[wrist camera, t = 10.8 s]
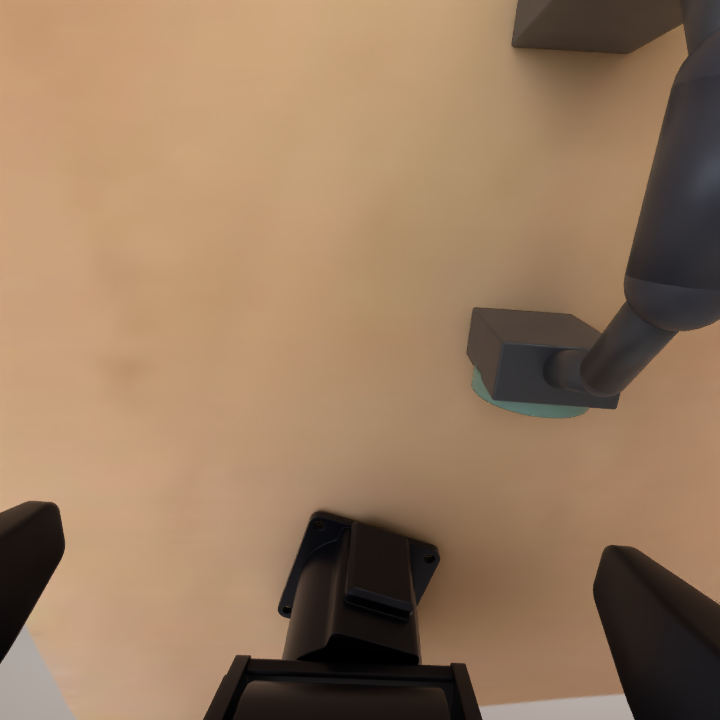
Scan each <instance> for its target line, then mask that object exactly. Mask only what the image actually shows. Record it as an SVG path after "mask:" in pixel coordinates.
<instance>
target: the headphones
mask: <svg viewBox="0 0 720 720" xmlns="http://www.w3.org/2000/svg"><path fill="white" fill-rule="evenodd" d="M681 24H684V30H685V37H686V43H687V49H688V55H689V56H688V57H687V58H686V60H685V61H684V62H683V64H682V66H681V67H680V69H679V71H678V73H677V75H676V77H675V80H674V83H673V86H672V88H671V92H670V96H669V100H668V104H667V108H666V112H665V116H664V120H663V124H662V128H661V132H660V136H659V140H658V144H657V148H656V152H655V156H654V160H653V164H652V168H651V172H650V176H649V180H648V184H647V188H646V192H645V196H644V200H643V204H642V208H641V212H640V216H639V220H638V224H637V228H636V232H635V236H634V240H633V244H632V248H631V252H630V256H629V260H628V264H627V268H626V272H625V278H624V293H625V296H626V299H627V301H626V302H625V303H624V305H623V306H622V307H621V309H620V310H619V311H618V313H617V314H616V316H615V317H614V318H613V320H612V321H611V322H610V324H609V325H608V326H607V328H606V329H605V330H604V332H603V333H600V332H599V331H597V330H596V329H594V328H592V327H591V326H589V325H588V324H586V323H584V322H583V321H581V320H580V319H578V318H576V317H575V316H573V315H571V314H561V313H546V312H532V311H518V310H504V309H490V308H476V307H475V308H473V312H472V318H471V325H470V332H469V339H468V346H467V355H468V357H469V358H470V360H471V362H472V364H473V366H474V370H473V376H472V388H473V390H474V392H475V393H476V394H477V395H478V396H480V397H481V398H482V399H484V400H486V401H487V402H489V403H491V404H493V405H496V406H498V407H500V408H503V409H506V410H509V411H512V412H516V413H520V414H524V415H529V416H535V417H544V418H570V417H576V416H579V415H582V414H584V413H585V412H587V411H588V409H589V408H603V409H616V408H617V404H618V400H619V396H620V393H621V391H623V390H624V389H625V388H626V387H627V386H628V384H629V383H630V382H631V381H632V380H633V379H634V378H635V377H636V376H637V375H638V374H639V373H640V372H641V371H642V370H643V369H644V368H645V367H646V366H647V364H648V363H649V362H650V361H651V360H652V359H653V358H654V357H655V356H656V355H657V354H658V353H659V352H660V351H661V350H662V349H663V348H664V347H665V346H666V345H667V343H668V342H669V341H670V340H671V339H672V338H673V337H674V336H675V335H676V334H677V333H678V332H679V331H689V330H694V329H699V328H702V327H705V326H707V325H710V324H713V323H714V322H716V321H717V320H719V319H720V0H518V4H517V11H516V18H515V25H514V32H513V38H512V46H514V47H528V48H544V49H560V50H576V51H591V52H607V53H623V54H629V53H631V52H633V51H634V50H636V49H638V48H640V47H642V46H643V45H645V44H647V43H649V42H651V41H652V40H654V39H656V38H658V37H659V36H661V35H663V34H665V33H667V32H668V31H670V30H672V29H674V28H676V27H677V26H679V25H681Z"/></svg>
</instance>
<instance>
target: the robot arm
mask: <svg viewBox="0 0 720 720" xmlns="http://www.w3.org/2000/svg"><path fill="white" fill-rule="evenodd" d="M317 521H321V522H323V523H324V524H322V525H320V524H317V523H316V522H317ZM64 550H65V538H64V533H63V527H62V521H61V516H60V510H59V508H58V506H57V505H56V504H55V503H52V502H42V501H28V502H25V503H22V504H20V505H18V506H15V507H13V508H11V509H8V510H6V511H4V512H1V513H0V663H1V662H2V660H3V659H4V657H5V656H6V654H7V653H8V651H9V650H10V648H11V646H12V644H13V643H14V641H15V640H16V638H17V636H18V635H19V633H20V631H21V629H22V627H23V626H24V624H25V622H26V621H27V619H28V617H29V615H30V614H31V612H32V610H33V608H34V607H35V605H36V603H37V601H38V599H39V598H40V596H41V594H42V592H43V591H44V589H45V587H46V585H47V584H48V582H49V580H50V578H51V576H52V575H53V573H54V571H55V569H56V568H57V566H58V564H59V562H60V561H61V559H62V556H63V554H64ZM426 555H433V556H431V557H426ZM439 561H440V556H439V551H438V549H437V548H436V547H435V546H433V545H431V544H427V543H424V542H421V541H418V540H414V539H411V538H408V537H405V536H402V535H399V534H395V533H392V532H389V531H386V530H382V529H379V528H376V527H372V526H369V525H366V524H363V523H359V522H355V521H352V520H349V519H345V518H342V517H339V516H335V515H332V514H329V513H326V512H321V511H319V512H315V513H313V514H312V515H311V517H310V519H309V522H308V525H307V528H306V530H305V533H304V536H303V539H302V541H301V544H300V547H299V549H298V552H297V555H296V558H295V560H294V563H293V566H292V569H291V571H290V574H289V577H288V579H287V582H286V585H285V588H284V590H283V593H282V596H281V599H280V602H279V606H278V612H279V614H280V615H281V616H283V617H286V618H290V623H289V628H288V632H287V637H286V642H285V647H284V652H283V657H282V660H279V659H252V658H251V656H249V655H236V657H235V659H234V661H233V663H232V665H231V667H230V669H229V671H228V673H227V675H225V676H224V678H223V680H222V682H221V684H220V686H219V688H218V690H217V692H216V694H215V696H214V698H213V700H212V703H211V705H210V707H209V709H208V711H207V713H206V715H205V717H204V719H203V720H482V717H481V713H480V710H479V707H478V704H477V700H476V697H475V694H474V690H473V687H472V684H471V681H470V677H469V674H468V671H467V668H466V665H465V663H451V664H450V666H440V665H422V658H421V647H420V637H419V626H418V616H417V605H418V603H419V601H420V599H421V597H422V595H423V593H424V591H425V589H426V587H427V585H428V583H429V581H430V579H431V577H432V575H433V573H434V571H435V569H436V567H437V565H438V563H439ZM593 595H594V600H595V603H596V607H597V610H598V613H599V616H600V619H601V622H602V625H603V629H604V632H605V635H606V638H607V641H608V644H609V647H610V650H611V654H612V657H613V660H614V663H615V666H616V669H617V672H618V675H619V679H620V682H621V685H622V688H623V690H624V693H625V696H626V699H627V702H628V704H629V707H630V709H631V711H632V714H633V717H634V719H635V720H720V605H719V604H718V603H716V602H715V601H713V600H712V599H710V598H709V597H707V596H706V595H704V594H703V593H701V592H700V591H698V590H697V589H695V588H694V587H692V586H691V585H689V584H688V583H686V582H685V581H683V580H682V579H681V578H679V577H678V576H676V575H675V574H673V573H672V572H670V571H669V570H667V569H666V568H664V567H663V566H661V565H660V564H658V563H657V562H655V561H654V560H652V559H651V558H649V557H648V556H646V555H645V554H644V553H642V552H641V551H639V550H638V549H636V548H634V547H629V546H617V545H610V546H607V547H606V548H605V549H604V551H603V553H602V556H601V560H600V563H599V567H598V570H597V573H596V577H595V580H594V585H593ZM286 606H289V607H286Z"/></svg>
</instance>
